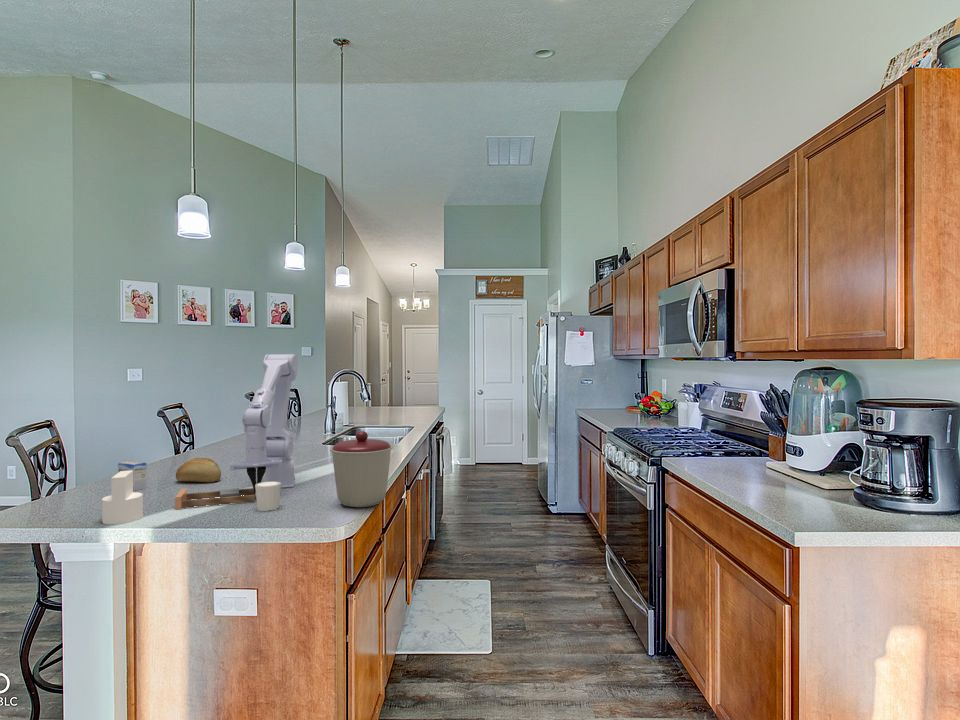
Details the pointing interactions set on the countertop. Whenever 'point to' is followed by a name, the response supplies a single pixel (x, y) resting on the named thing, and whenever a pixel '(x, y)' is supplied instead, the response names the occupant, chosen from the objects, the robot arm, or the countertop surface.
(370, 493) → the canister
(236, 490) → the block
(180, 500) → the rail lane
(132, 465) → the medicine box
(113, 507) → the base with upright slab
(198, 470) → the bread roll
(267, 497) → the white cylinder
